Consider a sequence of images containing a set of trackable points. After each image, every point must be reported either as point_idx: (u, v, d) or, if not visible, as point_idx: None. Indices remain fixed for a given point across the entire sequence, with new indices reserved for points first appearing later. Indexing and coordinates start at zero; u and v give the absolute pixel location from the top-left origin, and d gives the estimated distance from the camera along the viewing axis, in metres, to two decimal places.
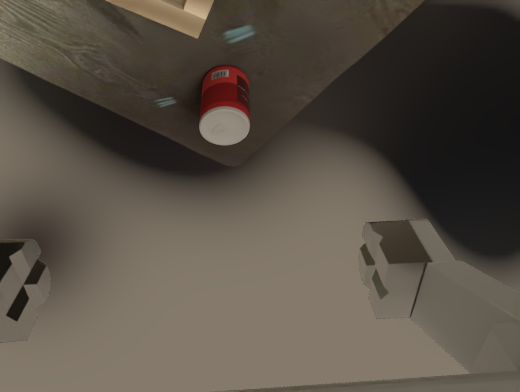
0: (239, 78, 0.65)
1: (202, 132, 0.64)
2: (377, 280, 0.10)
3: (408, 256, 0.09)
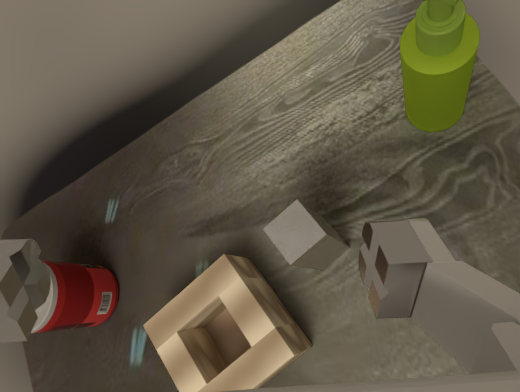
0: (89, 324, 0.51)
1: None
2: (377, 280, 0.10)
3: (408, 256, 0.09)
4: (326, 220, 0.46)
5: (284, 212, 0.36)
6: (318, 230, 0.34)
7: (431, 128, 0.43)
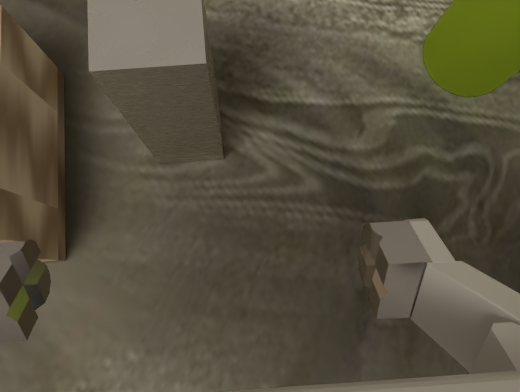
0: None
1: None
2: (377, 280, 0.10)
3: (408, 256, 0.09)
4: (218, 99, 0.26)
5: None
6: (197, 46, 0.14)
7: (447, 77, 0.26)
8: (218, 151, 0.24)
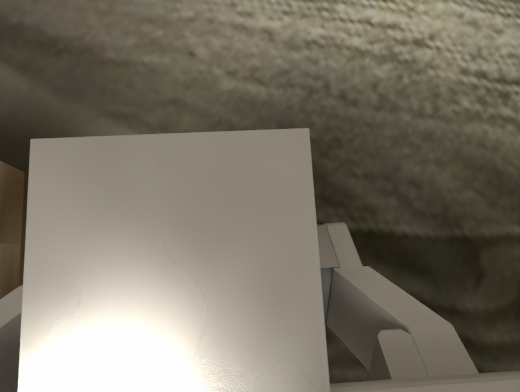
0: None
1: None
2: None
3: None
4: None
5: (200, 142, 0.06)
6: (307, 368, 0.05)
7: None
8: None
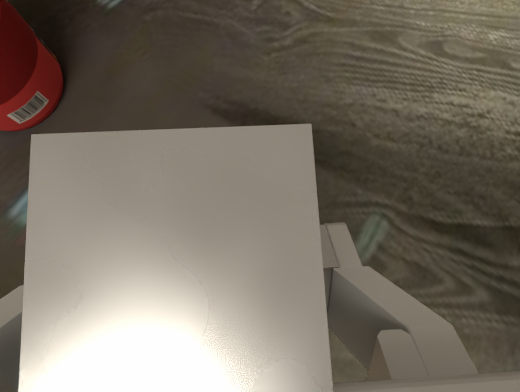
0: None
1: None
2: None
3: None
4: None
5: (202, 138, 0.06)
6: (311, 365, 0.05)
7: None
8: None
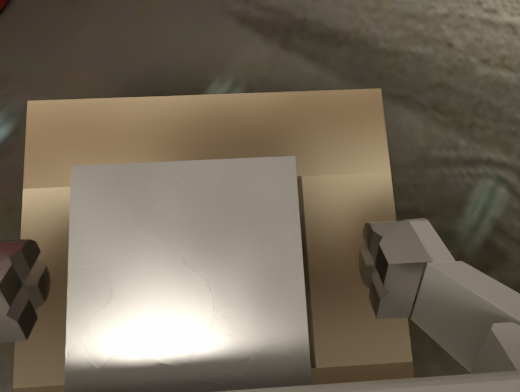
0: None
1: None
2: (377, 280, 0.10)
3: (408, 256, 0.09)
4: None
5: (207, 168, 0.07)
6: (293, 349, 0.07)
7: None
8: None
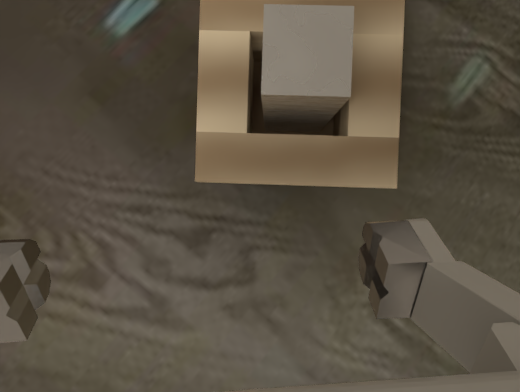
0: None
1: None
2: (377, 280, 0.10)
3: (408, 256, 0.09)
4: None
5: (318, 8, 0.18)
6: (345, 81, 0.18)
7: None
8: (319, 128, 0.29)
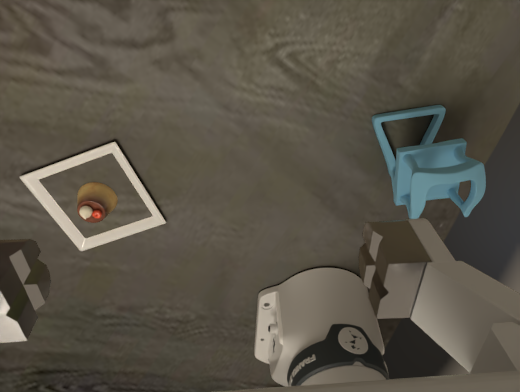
0: None
1: None
2: (377, 280, 0.10)
3: (408, 256, 0.09)
4: None
5: None
6: None
7: None
8: None
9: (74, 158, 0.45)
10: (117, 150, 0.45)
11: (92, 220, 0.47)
